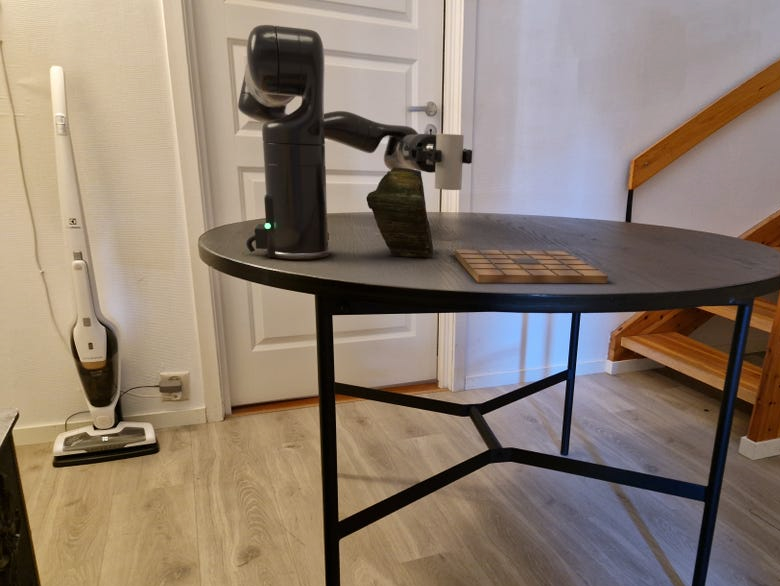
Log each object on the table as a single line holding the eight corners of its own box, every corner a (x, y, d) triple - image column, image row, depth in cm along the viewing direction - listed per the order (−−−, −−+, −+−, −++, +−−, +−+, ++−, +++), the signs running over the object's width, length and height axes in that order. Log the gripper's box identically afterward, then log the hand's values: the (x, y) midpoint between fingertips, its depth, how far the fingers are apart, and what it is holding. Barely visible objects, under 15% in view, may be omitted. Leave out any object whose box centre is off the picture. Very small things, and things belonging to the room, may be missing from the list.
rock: (432, 262, 101) (418, 168, 95) (377, 269, 101) (360, 174, 96) (436, 246, 112) (424, 161, 107) (387, 252, 113) (373, 167, 107)
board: (478, 282, 89) (478, 273, 89) (454, 256, 107) (454, 248, 107) (606, 283, 93) (607, 274, 93) (563, 257, 112) (563, 250, 111)
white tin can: (436, 189, 117) (438, 133, 114) (432, 186, 122) (434, 133, 118) (463, 190, 118) (466, 135, 115) (458, 188, 123) (461, 134, 119)
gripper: (455, 172, 134) (487, 178, 120) (391, 170, 128) (417, 176, 114) (456, 135, 132) (490, 137, 117) (391, 131, 126) (418, 133, 111)
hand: (454, 156), depth 116 cm, fingers closed on white tin can, 5 cm apart
